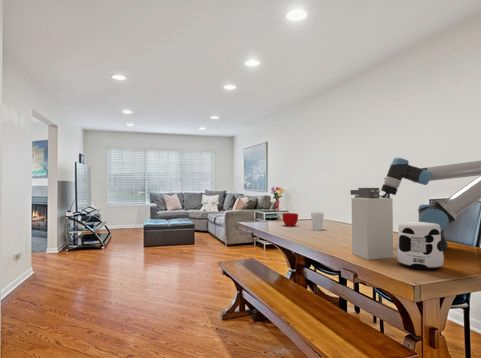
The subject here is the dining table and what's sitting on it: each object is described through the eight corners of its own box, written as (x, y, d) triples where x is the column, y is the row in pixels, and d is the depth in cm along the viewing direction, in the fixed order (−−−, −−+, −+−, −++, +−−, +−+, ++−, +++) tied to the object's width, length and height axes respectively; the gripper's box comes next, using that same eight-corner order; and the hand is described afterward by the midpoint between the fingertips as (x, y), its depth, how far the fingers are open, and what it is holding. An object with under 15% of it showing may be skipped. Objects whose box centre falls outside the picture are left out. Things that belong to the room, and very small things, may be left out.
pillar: (352, 253, 156) (351, 197, 156) (376, 252, 159) (375, 197, 159) (367, 259, 144) (366, 199, 144) (393, 257, 147) (392, 198, 148)
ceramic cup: (302, 225, 264) (302, 213, 264) (294, 227, 250) (294, 215, 250) (288, 224, 271) (288, 212, 271) (279, 226, 257) (279, 214, 257)
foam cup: (310, 230, 233) (310, 213, 234) (312, 228, 242) (312, 212, 242) (323, 231, 230) (323, 213, 230) (324, 229, 238) (324, 212, 239)
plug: (348, 197, 166) (347, 187, 166) (357, 196, 167) (357, 187, 167) (371, 198, 147) (371, 188, 147) (382, 198, 149) (382, 187, 149)
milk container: (423, 260, 141) (423, 220, 141) (454, 271, 124) (453, 226, 124) (388, 262, 139) (387, 221, 139) (414, 273, 122) (413, 227, 122)
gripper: (383, 184, 179) (369, 218, 181) (383, 182, 157) (367, 221, 159) (397, 188, 176) (383, 223, 178) (399, 188, 154) (383, 227, 156)
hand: (375, 222), depth 169 cm, fingers open, 13 cm apart
